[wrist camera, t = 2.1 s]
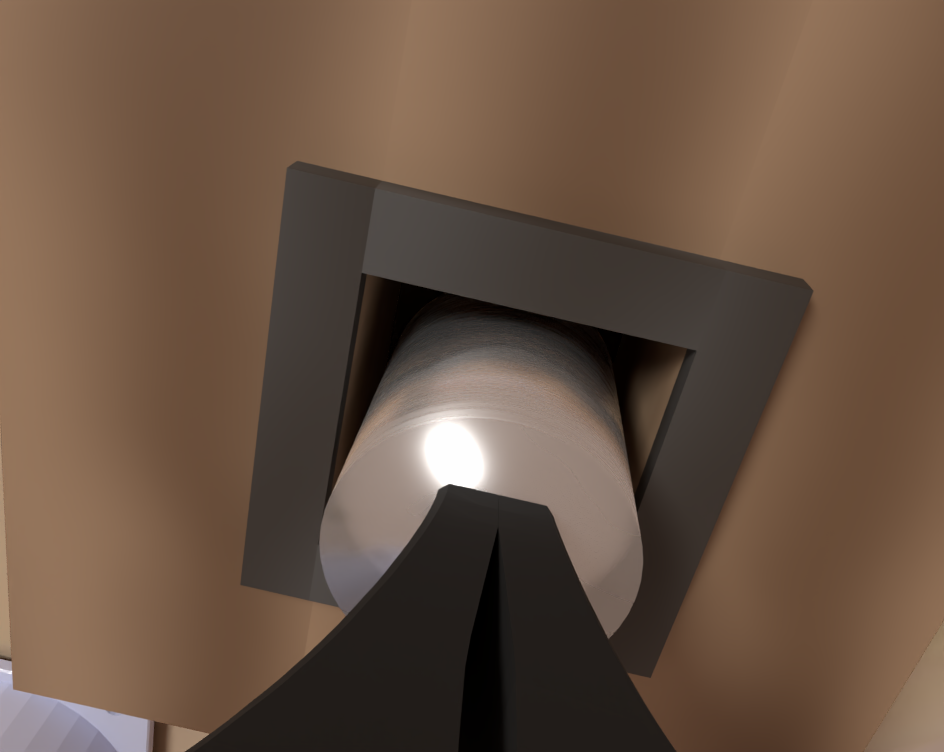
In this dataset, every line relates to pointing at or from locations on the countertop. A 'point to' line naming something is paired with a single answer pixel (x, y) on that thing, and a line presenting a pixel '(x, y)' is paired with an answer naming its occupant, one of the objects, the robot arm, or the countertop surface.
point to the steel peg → (490, 446)
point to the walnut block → (487, 279)
